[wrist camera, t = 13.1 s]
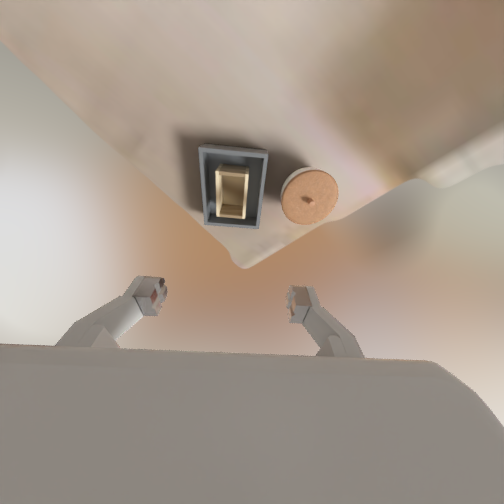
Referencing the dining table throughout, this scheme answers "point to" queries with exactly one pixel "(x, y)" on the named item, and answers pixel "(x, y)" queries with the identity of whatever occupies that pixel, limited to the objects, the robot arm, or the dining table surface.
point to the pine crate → (231, 190)
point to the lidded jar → (308, 195)
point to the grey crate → (257, 166)
